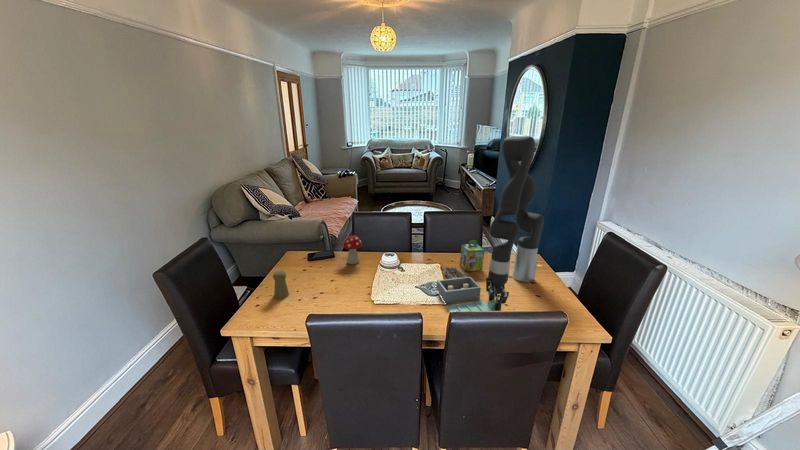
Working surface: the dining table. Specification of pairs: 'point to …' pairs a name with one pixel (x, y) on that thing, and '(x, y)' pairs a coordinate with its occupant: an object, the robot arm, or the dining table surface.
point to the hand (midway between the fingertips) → (494, 306)
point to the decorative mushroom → (352, 249)
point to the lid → (473, 306)
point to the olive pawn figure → (280, 285)
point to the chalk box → (471, 256)
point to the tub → (458, 290)
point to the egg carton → (453, 272)
